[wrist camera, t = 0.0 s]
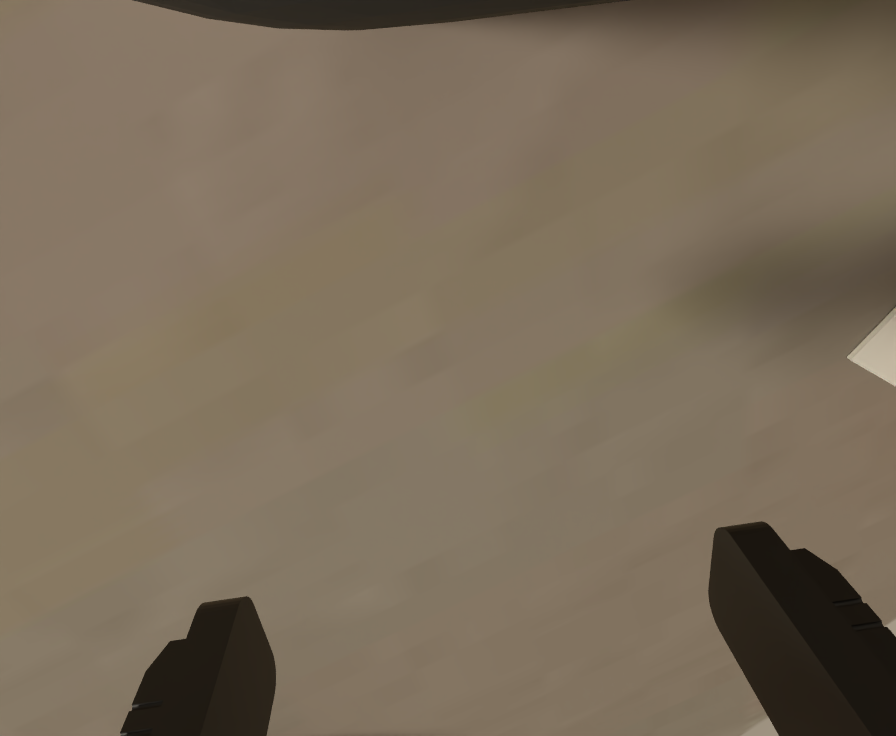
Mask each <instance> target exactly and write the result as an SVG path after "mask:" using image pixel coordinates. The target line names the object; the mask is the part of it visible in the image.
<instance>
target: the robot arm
mask: <svg viewBox="0 0 896 736" xmlns="http://www.w3.org/2000/svg"><path fill="white" fill-rule="evenodd" d="M134 1H138V2H142V3H146V4H150V5H155V6H159V7H163V8H167V9H171V10H175V11H179V12H183V13H187V14H191V15H195V16H199V17H203V18H208V19H215V20H222V21H229V22H236V23H243V24H251V25H258V26H265V27H272V28H282V29H318V30H366V29H377V28H389V27H400V26H411V25H423V24H434V23H445V22H455V21H463V20H471V19H479V18H487V17H496V16H504V15H512V14H520V13H528V12H537V11H545V10H553V9H561V8H570V7H578V6H586V5H594V4H603V3H611V2H619V1H628V0H134ZM708 593H709V602H710V607H711V611H712V614H713V617H714V620H715V622H716V625H717V627H718V629H719V631H720V632H721V634H722V636H723V638H724V639H725V641H726V643H727V645H728V646H729V648H730V650H731V652H732V654H733V655H734V657H735V659H736V661H737V662H738V664H739V666H740V668H741V669H742V671H743V673H744V675H745V676H746V678H747V680H748V682H749V683H750V685H751V687H752V689H753V691H754V692H755V694H756V696H757V698H758V699H759V701H760V703H761V705H762V706H763V708H764V710H765V712H766V713H767V715H768V717H769V719H770V720H771V722H772V724H773V726H774V727H775V729H776V731H777V733H778V734H779V736H896V637H895V636H894V634H892V632H891V631H890V630H889V629H888V628H887V627H884V626H883V625H882V621H881V619H880V618H879V617H878V616H877V615H876V614H875V613H874V611H873V610H872V609H871V608H870V607H869V606H868V604H867V603H863V602H862V599H861V596H860V595H859V594H858V593H857V592H856V591H855V590H854V588H853V587H852V586H851V585H850V584H849V583H848V581H847V580H846V579H845V578H844V577H843V576H842V575H841V573H840V572H839V571H838V570H837V569H835V568H834V567H832V566H831V565H829V564H828V563H826V562H825V561H823V560H822V559H820V558H819V557H817V556H816V555H814V554H813V553H811V552H810V551H808V550H807V549H805V548H803V549H797V550H789V548H788V547H787V546H786V545H785V543H784V542H783V541H782V540H781V538H780V537H779V536H778V535H777V533H776V532H775V531H774V530H773V529H772V527H771V526H770V525H768V524H767V523H765V522H762V521H761V522H754V523H747V524H741V525H734V526H727V527H721V528H718V529H716V531H715V533H714V540H713V550H712V559H711V569H710V579H709V590H708ZM275 686H276V669H275V661H274V656H273V653H272V650H271V648H270V645H269V642H268V640H267V637H266V635H265V632H264V630H263V627H262V624H261V622H260V619H259V617H258V614H257V612H256V609H255V606H254V604H253V602H252V600H251V599H250V598H249V597H247V596H246V597H239V598H233V599H226V600H219V601H213V602H206V603H202V604H201V605H200V606H199V608H198V609H197V611H196V614H195V616H194V619H193V622H192V624H191V627H190V630H189V632H188V635H187V638H186V639H182V640H175V641H170V642H169V643H168V645H167V646H166V647H165V648H164V649H163V651H162V652H161V653H160V654H159V656H158V657H157V658H156V659H155V661H154V662H153V663H152V664H151V666H150V667H149V668H148V669H147V671H146V672H145V675H144V677H143V679H142V682H141V684H140V686H139V689H138V691H137V694H136V696H135V698H134V701H133V703H132V711H129V713H128V715H127V718H126V720H125V722H124V725H123V727H122V729H121V732H120V734H121V736H266V735H267V730H268V725H269V720H270V715H271V710H272V705H273V699H274V694H275Z"/></svg>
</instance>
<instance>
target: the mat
mask: <svg viewBox="0 0 896 736" xmlns="http://www.w3.org/2000/svg"><path fill="white" fill-rule="evenodd" d="M847 358H848V359H850V360H851V361H853V362H854V363H856V364H858V365H860V366H861V367H863V368H865V369H866V370H868V371H870V372H872V373H873V374H875V375H877V376H878V377H880V378H882V379H884V380H885V381H887V382H889V383H891V384H892V385H894V386H896V307H895V308H894V309H893V310H892V311H891V312H890V313H889V314H888V315H887V316H886V317H885V318H884V319H883V320H882V321H881V322H880V324H879V325H878V326H877V327H876V328H875V329H874V330H873V331H872V332H871V333H870V334H869V335H868V336H867V337H866V338H865V339H864V340H863V341H862V342H861V343H860V344H859V345H858V346H857V347H856V348H855V349H854V350H853V351H852V352H851V353H850V354H849V355H848V356H847Z"/></svg>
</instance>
